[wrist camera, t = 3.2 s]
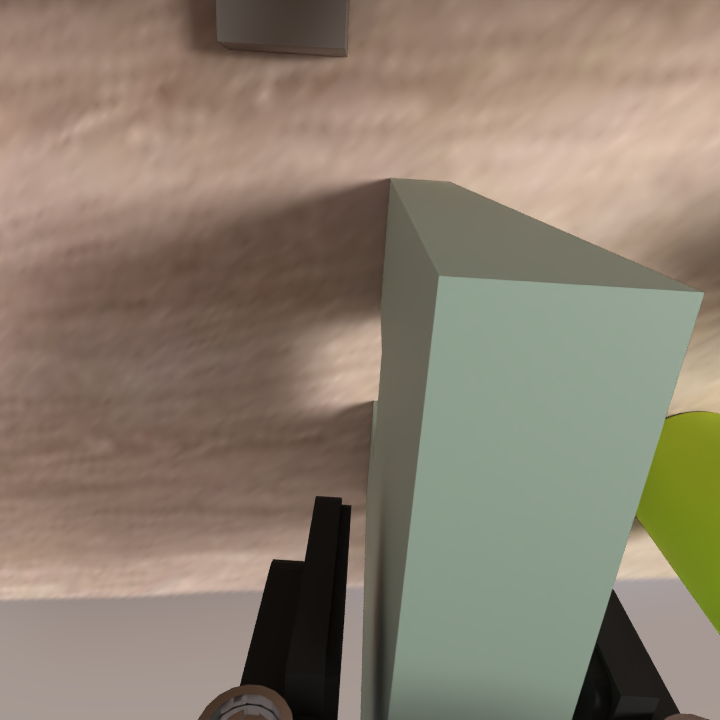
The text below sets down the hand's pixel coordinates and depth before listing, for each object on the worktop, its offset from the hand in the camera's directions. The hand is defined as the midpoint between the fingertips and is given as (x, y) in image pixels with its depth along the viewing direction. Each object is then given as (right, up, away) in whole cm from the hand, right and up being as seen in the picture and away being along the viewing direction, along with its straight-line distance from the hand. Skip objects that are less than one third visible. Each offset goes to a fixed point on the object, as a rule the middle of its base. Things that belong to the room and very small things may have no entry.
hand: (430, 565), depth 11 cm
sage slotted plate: (0, +4, +11) cm, 12 cm away
